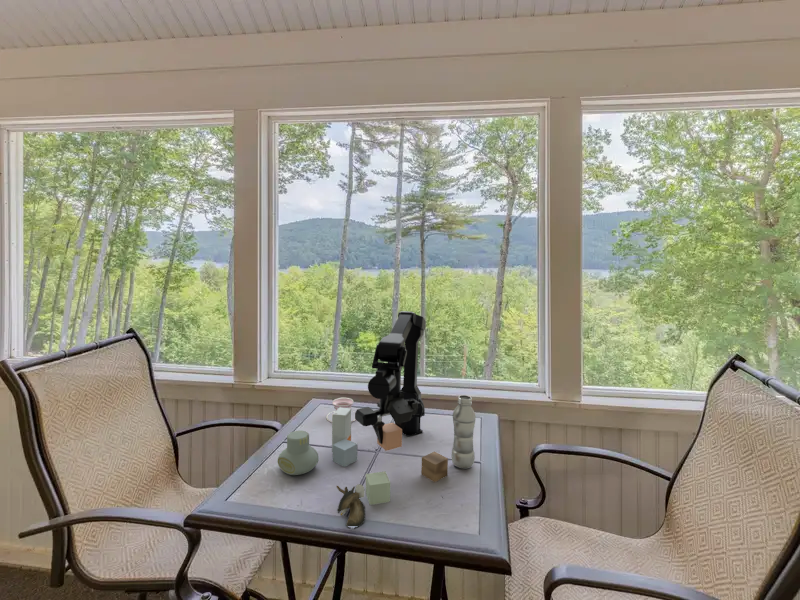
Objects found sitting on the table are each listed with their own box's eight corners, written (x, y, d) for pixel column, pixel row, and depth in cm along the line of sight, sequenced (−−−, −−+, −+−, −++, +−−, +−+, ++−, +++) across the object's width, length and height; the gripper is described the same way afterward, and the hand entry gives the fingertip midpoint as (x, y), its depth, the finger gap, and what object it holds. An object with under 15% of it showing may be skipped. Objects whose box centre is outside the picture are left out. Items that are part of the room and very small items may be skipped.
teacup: (356, 424, 136) (356, 408, 135) (322, 424, 136) (322, 407, 135) (360, 411, 148) (360, 396, 147) (329, 411, 148) (329, 395, 147)
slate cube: (345, 454, 115) (345, 438, 114) (357, 460, 111) (357, 443, 111) (332, 461, 111) (332, 444, 110) (344, 467, 108) (344, 450, 107)
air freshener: (273, 469, 106) (272, 434, 105) (296, 457, 112) (296, 424, 111) (300, 483, 100) (299, 446, 99) (323, 469, 106) (323, 434, 105)
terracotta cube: (392, 439, 110) (392, 422, 109) (401, 446, 106) (402, 429, 105) (377, 443, 107) (377, 426, 107) (385, 450, 103) (386, 433, 103)
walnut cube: (433, 468, 108) (434, 451, 107) (447, 476, 104) (447, 458, 104) (421, 474, 105) (421, 457, 104) (434, 482, 101) (435, 464, 100)
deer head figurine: (327, 501, 90) (329, 519, 81) (343, 473, 92) (347, 488, 83) (354, 516, 91) (359, 535, 83) (370, 488, 93) (376, 504, 84)
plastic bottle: (460, 473, 105) (462, 403, 103) (446, 462, 111) (448, 395, 109) (479, 468, 108) (481, 399, 106) (464, 457, 114) (466, 392, 112)
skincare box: (345, 454, 115) (345, 415, 113) (331, 452, 116) (331, 414, 114) (351, 444, 121) (351, 408, 119) (338, 443, 121) (338, 406, 120)
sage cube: (384, 490, 97) (385, 471, 97) (390, 501, 92) (390, 482, 92) (365, 493, 96) (365, 474, 95) (369, 505, 91) (369, 485, 91)
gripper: (373, 401, 93) (372, 463, 95) (435, 389, 103) (433, 445, 104) (354, 388, 103) (353, 444, 104) (412, 378, 112) (411, 429, 114)
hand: (389, 441), depth 106 cm, fingers closed on terracotta cube, 5 cm apart
